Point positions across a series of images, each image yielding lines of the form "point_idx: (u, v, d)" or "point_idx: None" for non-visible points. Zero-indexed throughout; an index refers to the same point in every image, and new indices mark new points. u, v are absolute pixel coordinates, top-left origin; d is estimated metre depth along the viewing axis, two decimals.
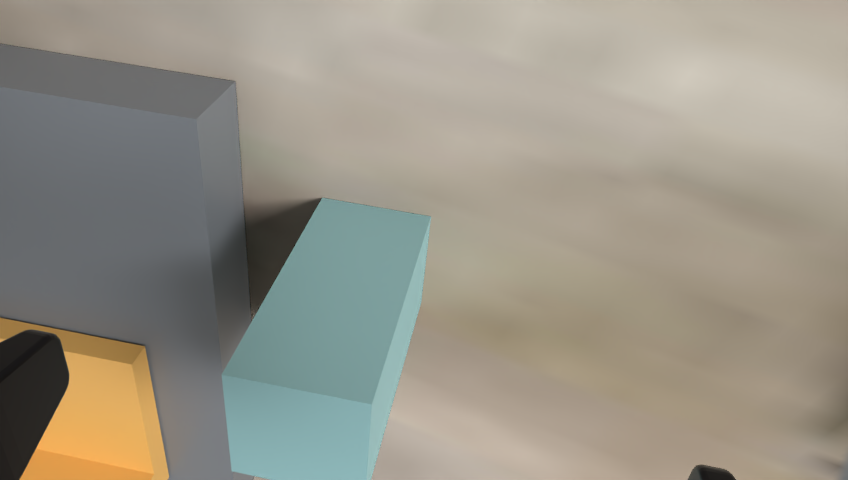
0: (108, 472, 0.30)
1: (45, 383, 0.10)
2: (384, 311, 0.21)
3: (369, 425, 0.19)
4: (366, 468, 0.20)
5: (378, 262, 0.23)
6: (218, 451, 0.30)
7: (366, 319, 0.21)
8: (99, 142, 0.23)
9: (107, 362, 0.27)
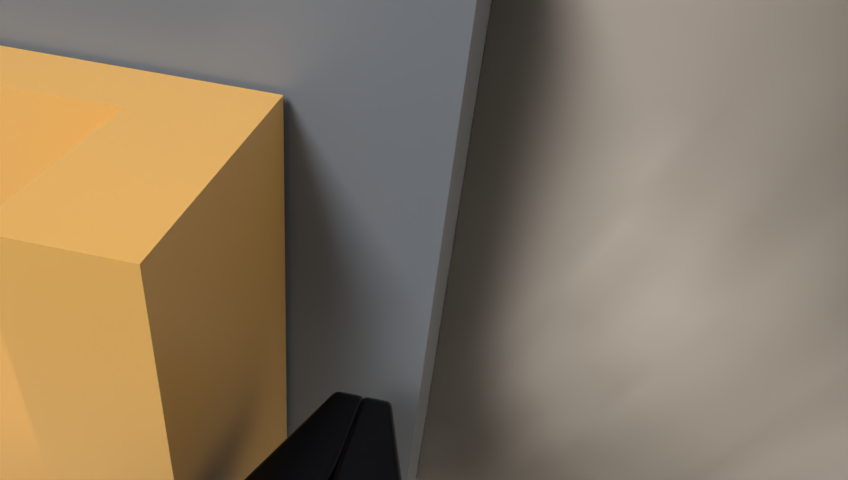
0: None
1: None
2: None
3: None
4: None
5: None
6: None
7: None
8: None
9: None
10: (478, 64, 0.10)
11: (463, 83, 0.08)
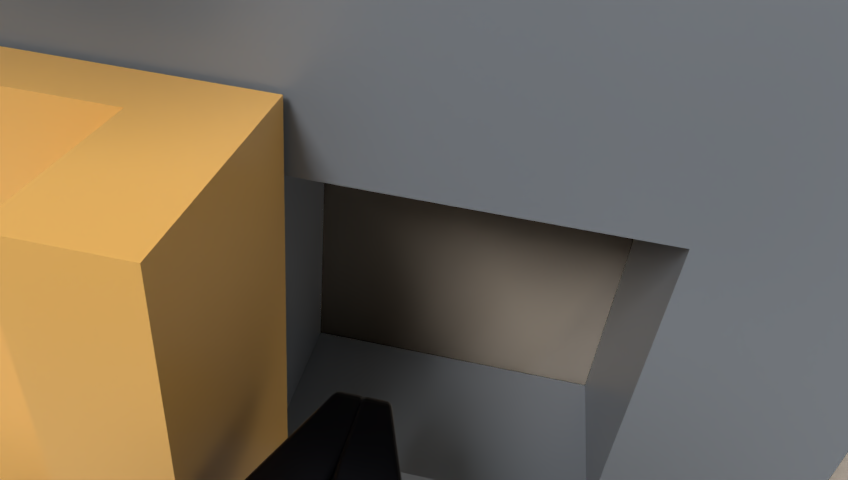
0: None
1: None
2: None
3: None
4: None
5: None
6: None
7: None
8: None
9: None
10: None
11: None
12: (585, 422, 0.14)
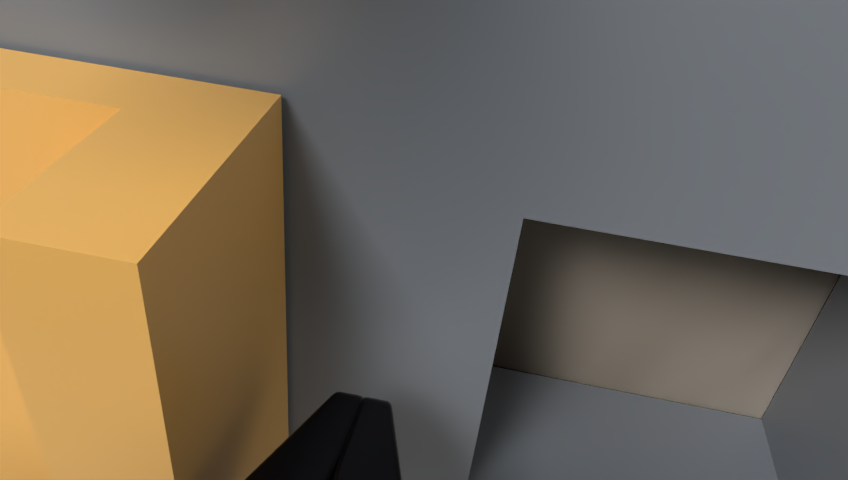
0: None
1: None
2: None
3: None
4: None
5: None
6: None
7: None
8: None
9: None
10: None
11: None
12: (772, 458, 0.14)
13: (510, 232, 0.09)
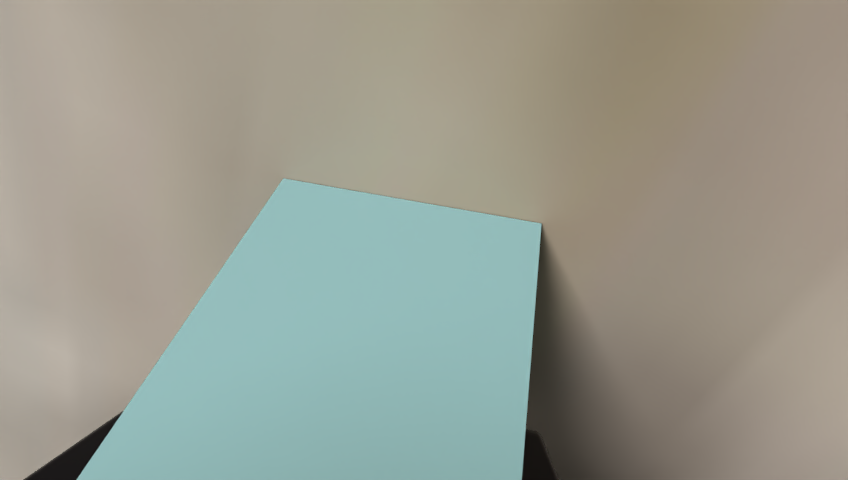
0: None
1: None
2: None
3: None
4: None
5: None
6: None
7: None
8: None
9: None
10: None
11: None
12: None
13: None
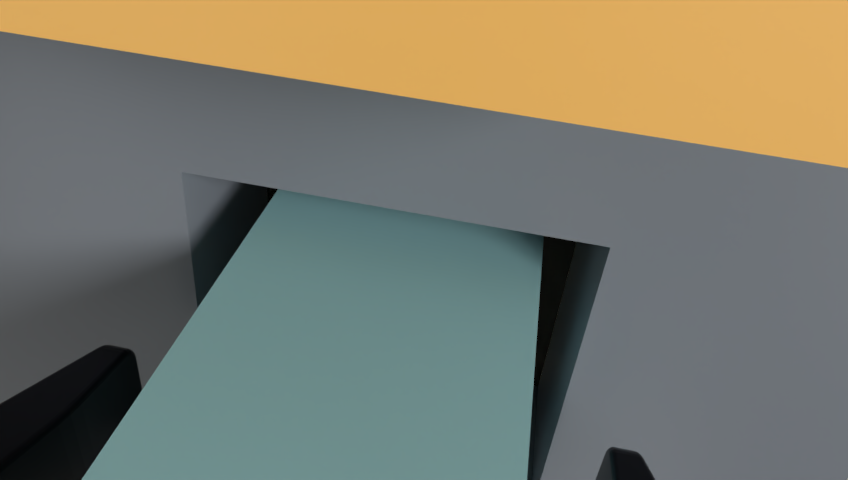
0: None
1: (122, 399, 0.10)
2: None
3: None
4: None
5: None
6: None
7: None
8: None
9: None
10: None
11: None
12: None
13: (592, 235, 0.09)
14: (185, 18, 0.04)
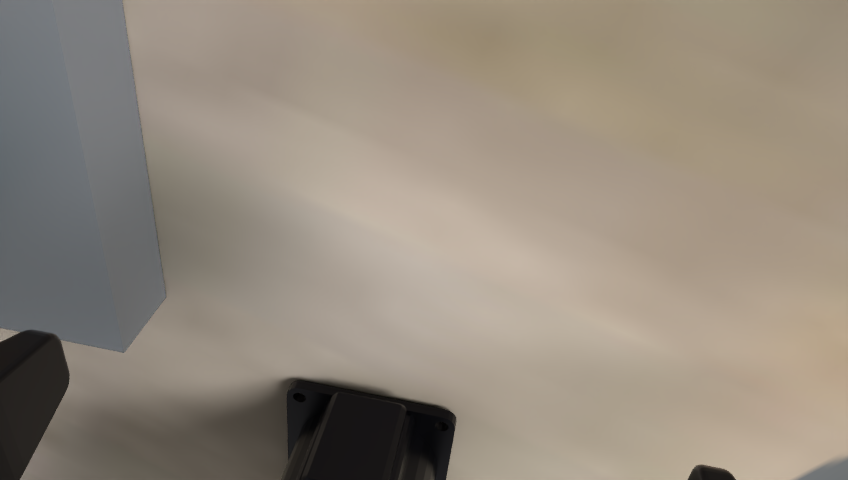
0: None
1: (45, 383, 0.10)
2: None
3: None
4: None
5: None
6: (84, 243, 0.21)
7: None
8: None
9: None
10: None
11: None
12: None
13: None
14: None
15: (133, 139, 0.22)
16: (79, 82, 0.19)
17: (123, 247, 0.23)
